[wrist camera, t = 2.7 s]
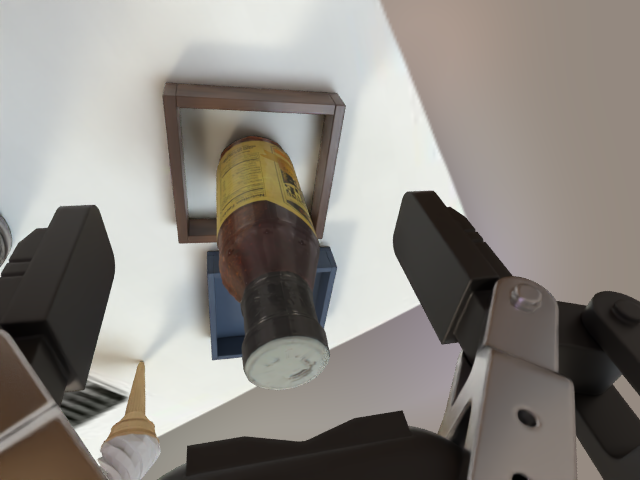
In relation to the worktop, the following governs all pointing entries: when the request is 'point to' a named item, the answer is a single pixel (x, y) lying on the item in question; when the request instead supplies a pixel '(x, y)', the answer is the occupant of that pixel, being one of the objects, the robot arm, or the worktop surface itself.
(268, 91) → the walnut frame
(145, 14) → the worktop surface
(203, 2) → the worktop surface
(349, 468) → the robot arm
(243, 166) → the sauce bottle
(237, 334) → the slate tray
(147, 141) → the worktop surface
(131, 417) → the ice cream cone
